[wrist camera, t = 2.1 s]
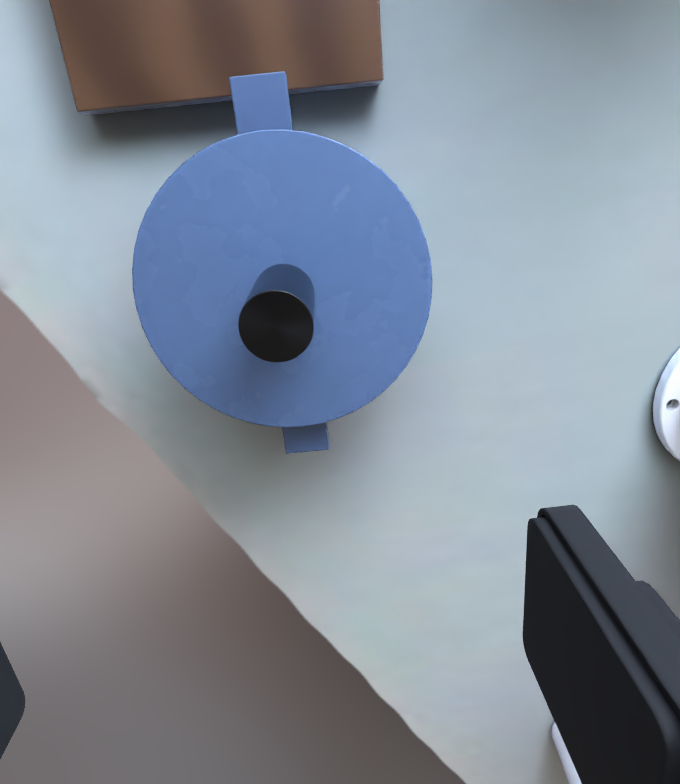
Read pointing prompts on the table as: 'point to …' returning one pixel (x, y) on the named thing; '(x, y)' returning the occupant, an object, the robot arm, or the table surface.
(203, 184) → the lid
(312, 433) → the pot
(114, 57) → the board
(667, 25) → the table surface
